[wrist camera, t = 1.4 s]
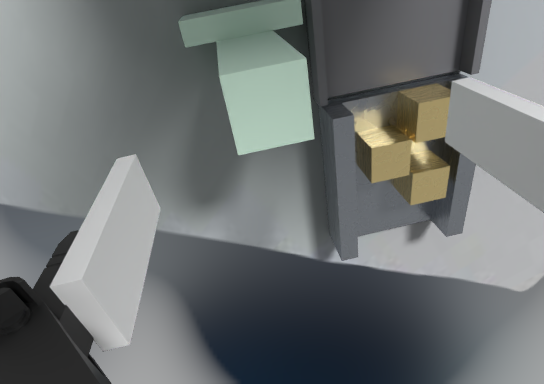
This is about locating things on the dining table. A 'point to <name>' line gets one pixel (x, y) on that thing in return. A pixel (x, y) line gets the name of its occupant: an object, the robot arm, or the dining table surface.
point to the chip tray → (391, 41)
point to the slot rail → (382, 195)
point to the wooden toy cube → (383, 153)
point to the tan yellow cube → (424, 178)
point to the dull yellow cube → (423, 112)
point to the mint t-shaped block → (257, 71)
